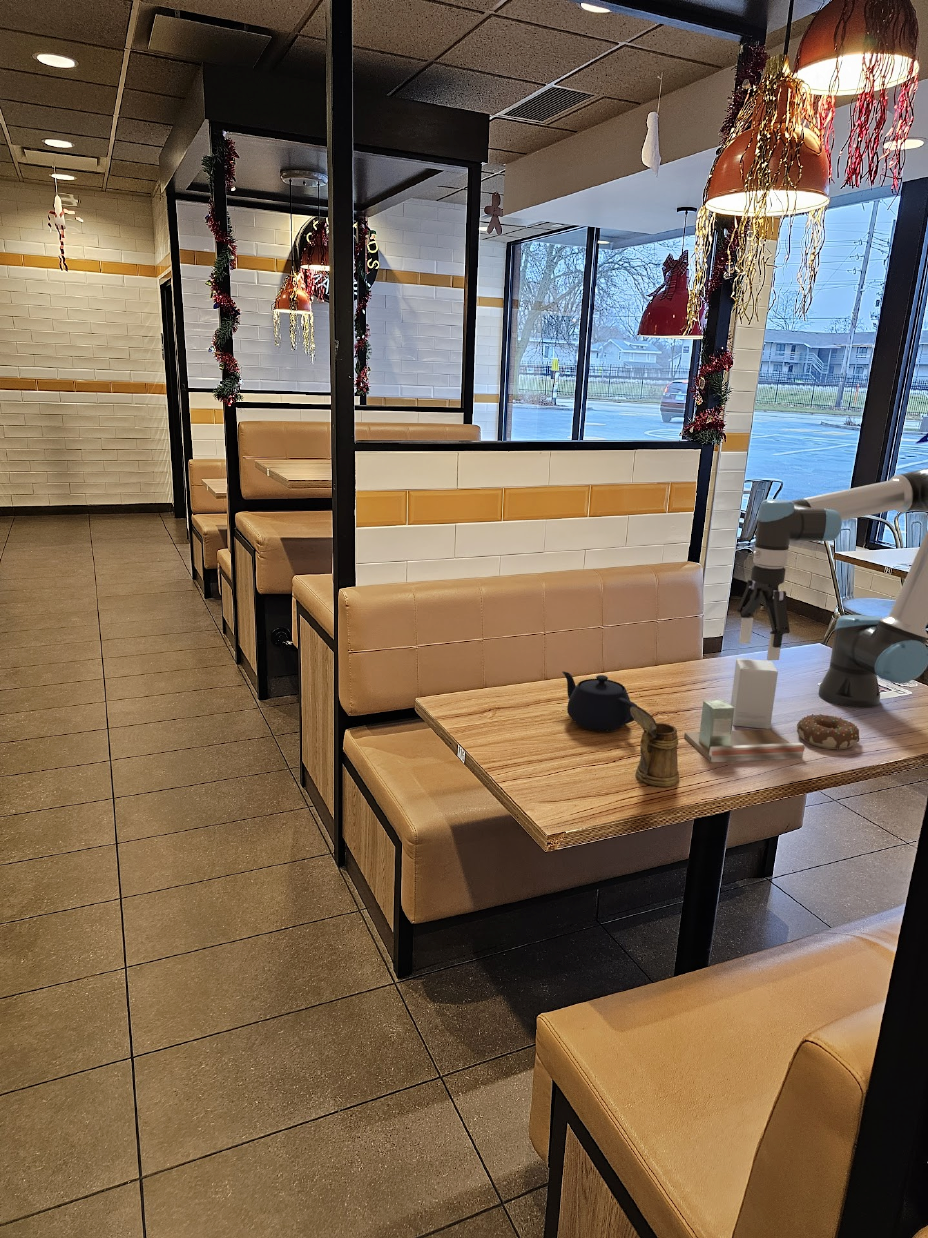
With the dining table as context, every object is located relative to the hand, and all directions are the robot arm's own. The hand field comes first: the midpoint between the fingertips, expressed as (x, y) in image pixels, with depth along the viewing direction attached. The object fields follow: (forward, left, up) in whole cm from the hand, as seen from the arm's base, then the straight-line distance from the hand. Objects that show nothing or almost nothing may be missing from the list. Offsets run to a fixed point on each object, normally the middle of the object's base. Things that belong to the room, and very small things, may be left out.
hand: (758, 651), depth 203 cm
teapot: (+39, -3, -19) cm, 43 cm away
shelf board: (+10, +15, -18) cm, 26 cm away
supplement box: (0, 0, -18) cm, 19 cm away
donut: (-13, +13, -19) cm, 26 cm away
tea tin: (+17, +16, -17) cm, 29 cm away
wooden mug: (+38, +29, -18) cm, 51 cm away
